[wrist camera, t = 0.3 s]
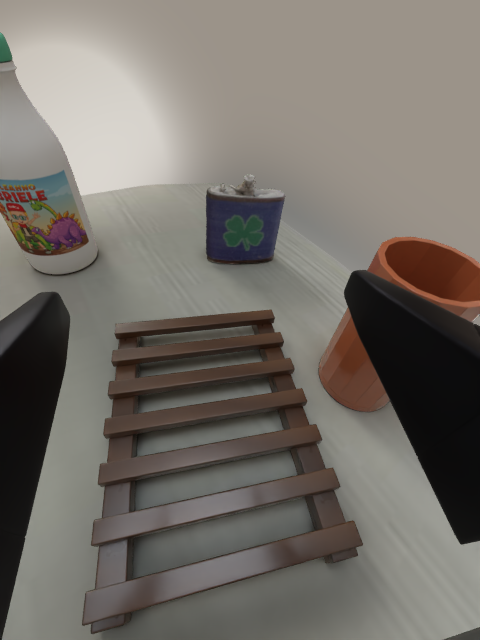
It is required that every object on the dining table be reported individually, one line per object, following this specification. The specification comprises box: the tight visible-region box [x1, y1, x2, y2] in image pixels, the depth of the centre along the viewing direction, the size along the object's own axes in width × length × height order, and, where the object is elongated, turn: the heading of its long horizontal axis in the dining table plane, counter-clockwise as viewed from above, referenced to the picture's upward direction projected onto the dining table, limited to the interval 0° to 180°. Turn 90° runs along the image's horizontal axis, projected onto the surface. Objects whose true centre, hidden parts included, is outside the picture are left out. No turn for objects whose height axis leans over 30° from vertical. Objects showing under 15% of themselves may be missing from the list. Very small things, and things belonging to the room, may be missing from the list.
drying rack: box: [82, 310, 363, 634], centre depth 22 cm, size 20×15×2 cm
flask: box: [206, 174, 285, 264], centre depth 34 cm, size 9×3×11 cm, turn 97°
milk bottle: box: [0, 33, 98, 274], centre depth 28 cm, size 8×8×20 cm
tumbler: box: [319, 237, 480, 412], centre depth 22 cm, size 7×7×13 cm
